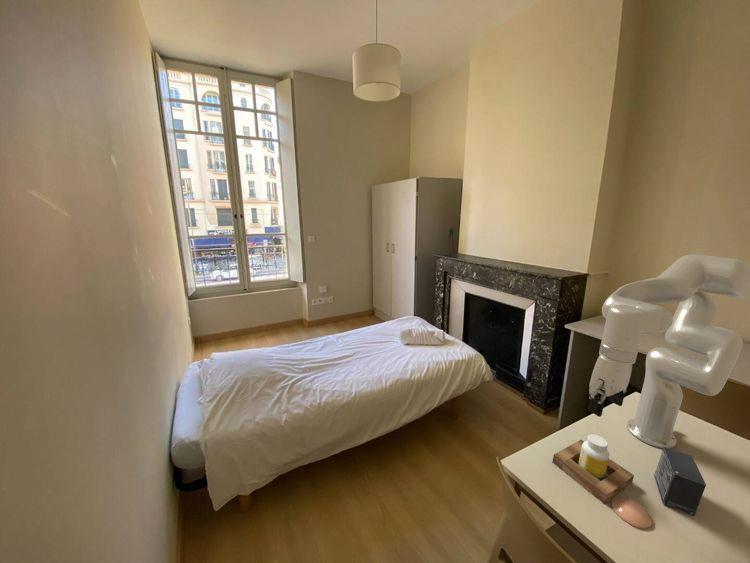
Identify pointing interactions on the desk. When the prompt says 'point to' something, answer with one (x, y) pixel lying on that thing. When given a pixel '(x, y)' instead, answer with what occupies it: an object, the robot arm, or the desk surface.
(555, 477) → the desk surface
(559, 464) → the pocket holder
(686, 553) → the desk surface
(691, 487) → the small box
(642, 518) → the coaster
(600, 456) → the pill bottle
